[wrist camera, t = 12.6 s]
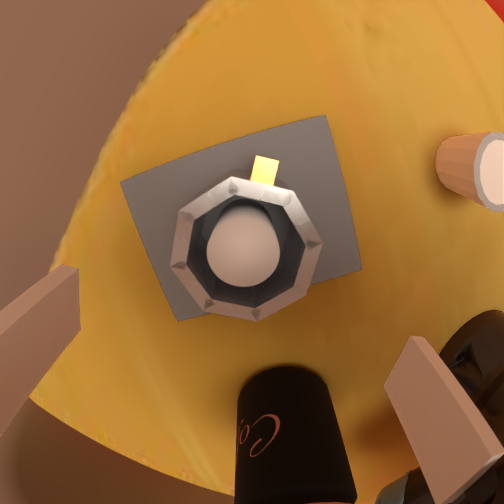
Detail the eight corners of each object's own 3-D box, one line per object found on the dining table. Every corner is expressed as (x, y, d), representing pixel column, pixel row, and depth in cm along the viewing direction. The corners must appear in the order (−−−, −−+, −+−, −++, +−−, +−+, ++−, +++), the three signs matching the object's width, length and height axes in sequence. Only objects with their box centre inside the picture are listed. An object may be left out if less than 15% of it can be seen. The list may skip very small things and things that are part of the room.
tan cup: (486, 172, 25) (530, 182, 18) (450, 210, 27) (492, 229, 20) (458, 117, 23) (503, 116, 17) (418, 155, 25) (462, 161, 18)
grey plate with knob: (322, 116, 24) (353, 104, 16) (358, 264, 28) (392, 305, 21) (125, 180, 25) (80, 195, 18) (179, 315, 30) (160, 367, 22)
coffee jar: (262, 350, 31) (272, 507, 14) (344, 376, 33) (389, 508, 16) (224, 409, 34) (214, 540, 17) (299, 429, 36) (316, 547, 19)
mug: (207, 143, 24) (192, 142, 17) (317, 169, 24) (341, 178, 18) (184, 264, 27) (165, 302, 20) (284, 285, 28) (294, 328, 21)
